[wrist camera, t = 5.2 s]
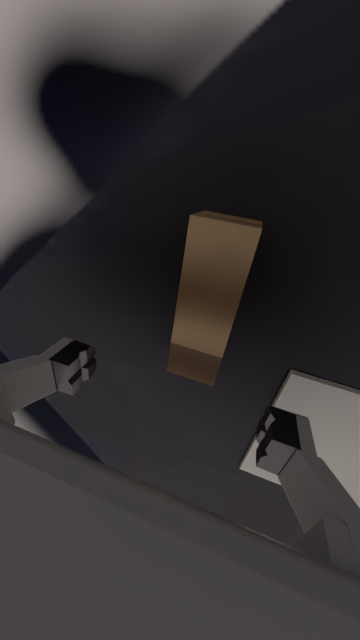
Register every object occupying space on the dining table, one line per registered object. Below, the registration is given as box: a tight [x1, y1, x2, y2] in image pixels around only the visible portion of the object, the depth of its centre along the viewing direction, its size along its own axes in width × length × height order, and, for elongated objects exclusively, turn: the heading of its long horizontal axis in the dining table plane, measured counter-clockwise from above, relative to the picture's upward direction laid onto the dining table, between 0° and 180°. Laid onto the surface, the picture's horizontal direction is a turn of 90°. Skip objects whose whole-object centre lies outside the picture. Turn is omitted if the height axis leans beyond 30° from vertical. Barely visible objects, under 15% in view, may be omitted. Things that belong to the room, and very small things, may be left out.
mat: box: [240, 370, 360, 508], centre depth 22 cm, size 16×16×1 cm
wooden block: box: [167, 210, 262, 386], centre depth 17 cm, size 12×4×4 cm, turn 171°
